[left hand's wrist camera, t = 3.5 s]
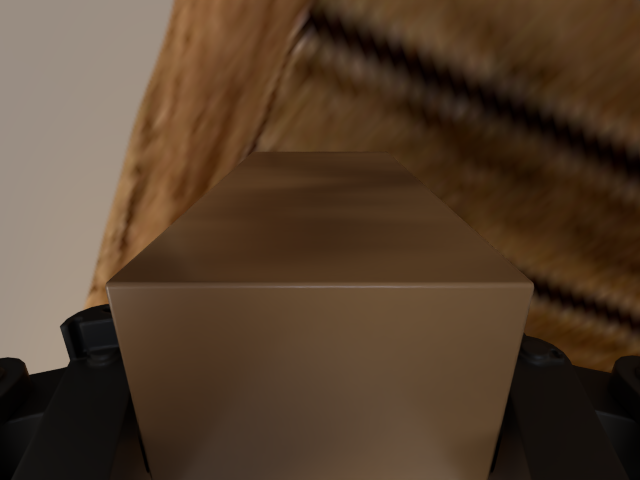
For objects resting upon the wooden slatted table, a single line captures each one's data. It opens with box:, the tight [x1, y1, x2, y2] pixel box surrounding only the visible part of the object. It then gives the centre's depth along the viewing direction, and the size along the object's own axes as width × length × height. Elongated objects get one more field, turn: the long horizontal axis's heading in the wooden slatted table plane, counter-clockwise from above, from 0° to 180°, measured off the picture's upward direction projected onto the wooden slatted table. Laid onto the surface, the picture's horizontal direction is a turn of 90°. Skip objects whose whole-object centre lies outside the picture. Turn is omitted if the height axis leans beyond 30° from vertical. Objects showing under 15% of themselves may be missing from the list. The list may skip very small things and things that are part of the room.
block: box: [105, 152, 534, 480], centre depth 11 cm, size 6×7×11 cm
